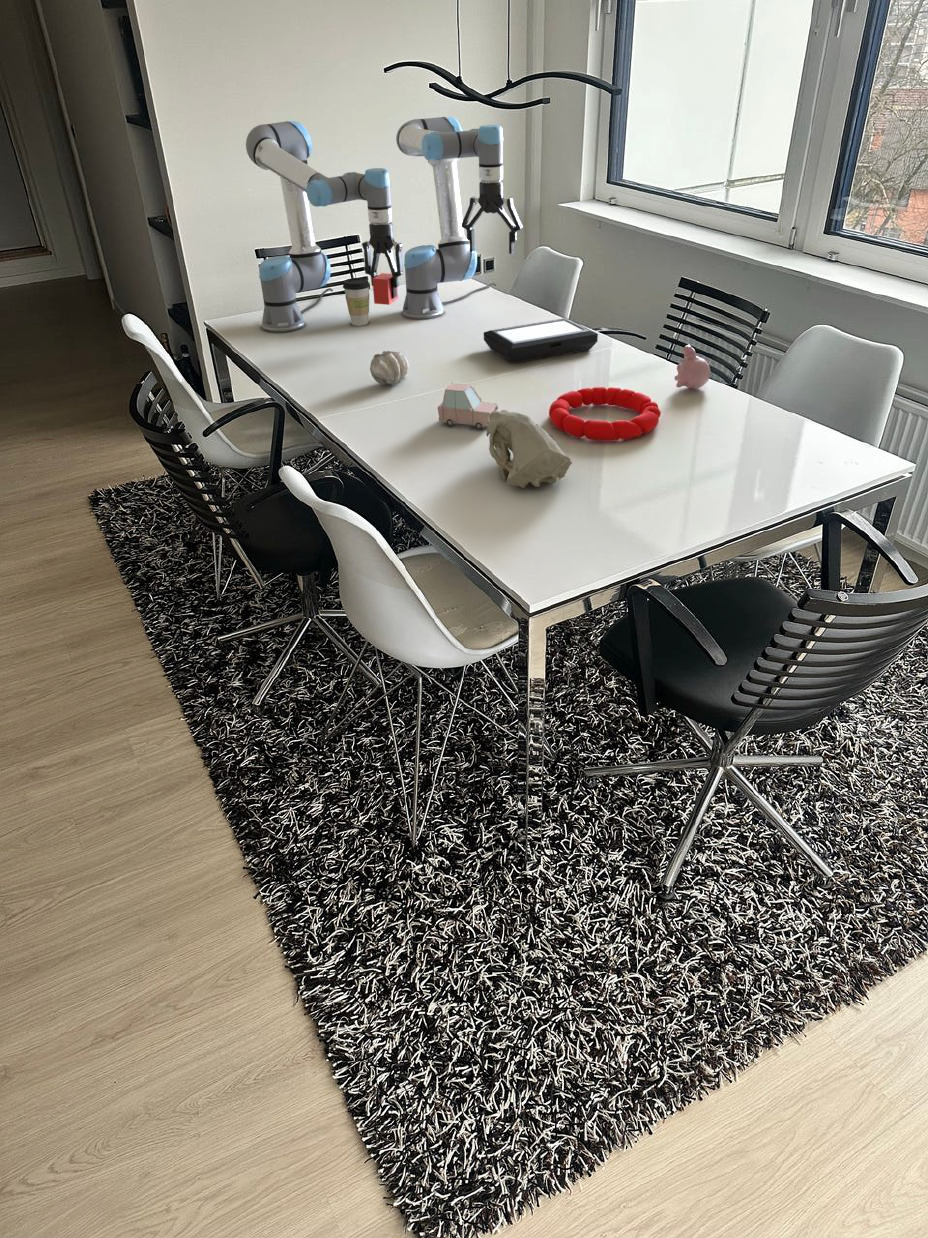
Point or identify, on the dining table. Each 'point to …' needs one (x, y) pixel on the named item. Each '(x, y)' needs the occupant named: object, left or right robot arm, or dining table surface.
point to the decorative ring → (604, 428)
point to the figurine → (692, 370)
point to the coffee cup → (357, 300)
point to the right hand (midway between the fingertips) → (491, 251)
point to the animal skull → (525, 450)
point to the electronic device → (540, 340)
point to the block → (383, 289)
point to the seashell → (389, 367)
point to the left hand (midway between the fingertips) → (386, 296)
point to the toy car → (465, 406)
